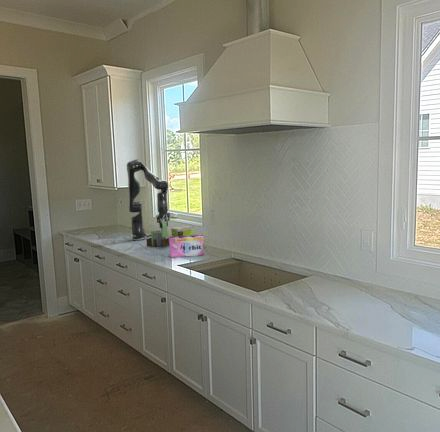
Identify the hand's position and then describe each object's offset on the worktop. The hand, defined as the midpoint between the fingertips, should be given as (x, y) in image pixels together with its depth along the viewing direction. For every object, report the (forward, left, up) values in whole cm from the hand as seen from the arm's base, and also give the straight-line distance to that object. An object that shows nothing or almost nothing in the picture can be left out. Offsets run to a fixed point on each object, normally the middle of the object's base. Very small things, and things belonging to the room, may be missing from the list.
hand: (163, 227), depth 321 cm
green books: (0, -8, -15) cm, 17 cm away
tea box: (-10, +11, -16) cm, 22 cm away
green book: (0, 0, -8) cm, 8 cm away
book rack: (0, -6, -16) cm, 17 cm away
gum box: (+19, +33, -16) cm, 41 cm away
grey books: (0, -3, -15) cm, 16 cm away
